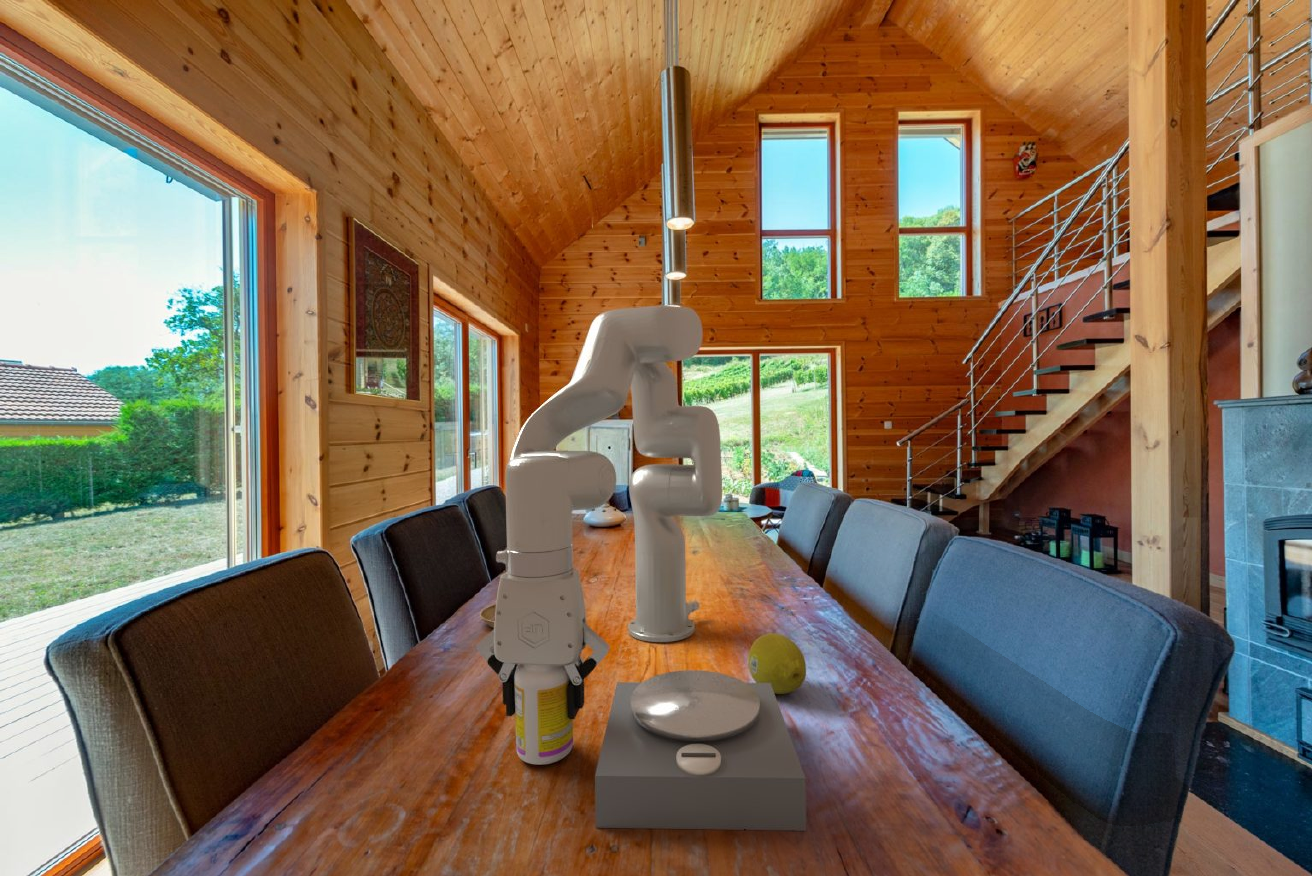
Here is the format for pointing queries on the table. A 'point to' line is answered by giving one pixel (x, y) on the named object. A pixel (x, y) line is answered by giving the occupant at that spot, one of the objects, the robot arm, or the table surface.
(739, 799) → the kitchen scale
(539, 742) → the supplement bottle
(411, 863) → the table surface
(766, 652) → the lemon
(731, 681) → the scale pan
